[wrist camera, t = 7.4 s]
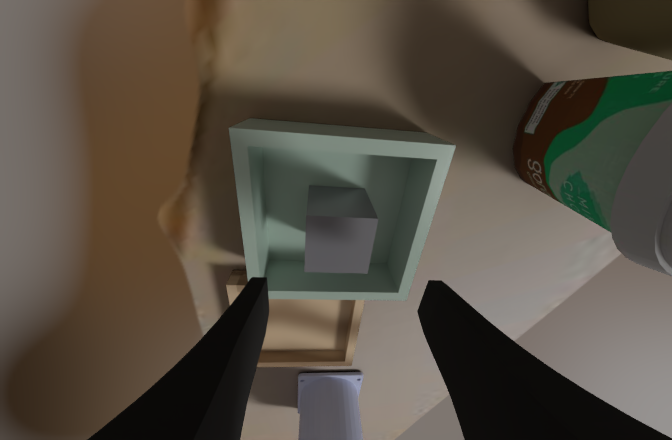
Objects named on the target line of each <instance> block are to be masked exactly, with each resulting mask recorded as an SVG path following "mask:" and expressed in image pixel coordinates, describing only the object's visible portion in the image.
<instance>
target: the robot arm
mask: <svg viewBox="0 0 672 440" xmlns="http://www.w3.org/2000/svg"><path fill="white" fill-rule="evenodd" d="M417 312H418V315H419V319H420V322H421V326H422V329H423V332H424V335H425V338H426V340H427V342H428V345H429V347H430V349H431V352H432V354H433V356H434V359H435V361H436V363H437V366H438V368H439V370H440V372H441V375H442V377H443V379H444V382H445V384H446V386H447V389H448V391H449V394H450V396H451V399H452V402H453V405H454V408H455V411H456V414H457V417H458V420H459V423H460V426H461V429H462V432H463V436H464V438H465V440H672V438H670V437H668V436H666V435H664V434H662V433H660V432H658V431H657V430H655V429H653V428H651V427H649V426H647V425H645V424H643V423H642V422H640V421H638V420H636V419H634V418H632V417H631V416H629V415H627V414H625V413H624V412H622V411H620V410H618V409H617V408H615V407H613V406H612V405H610V404H608V403H606V402H604V401H603V400H601V399H599V398H598V397H596V396H594V395H593V394H591V393H589V392H588V391H586V390H584V389H583V388H581V387H580V386H578V385H577V384H575V383H574V382H572V381H570V380H569V379H567V378H565V377H564V376H562V375H561V374H559V373H557V372H556V371H555V370H553V369H552V368H550V367H549V366H547V365H546V364H544V363H543V362H542V361H540V360H539V359H537V358H536V357H535V356H533V355H531V354H530V353H529V352H528V351H526V350H525V349H523V348H522V347H521V346H519V345H518V344H517V343H515V342H514V341H513V340H511V339H510V338H509V337H508V336H506V335H505V334H504V333H503V332H501V331H500V330H499V329H498V328H496V327H495V326H494V325H493V324H491V323H490V322H489V321H488V320H487V319H485V318H484V317H483V316H482V315H481V314H480V313H478V312H477V311H476V310H475V309H474V308H473V307H471V306H470V305H469V304H468V303H467V302H466V301H465V300H463V299H462V298H461V297H460V296H459V295H458V294H457V293H456V292H454V291H453V290H452V289H451V288H450V287H449V286H447V285H446V284H445V283H444V282H443V281H435V280H429V281H428V284H427V286H426V289H425V292H424V295H423V297H422V300H421V303H420V306H419V309H418V311H417ZM268 317H269V297H268V284H267V277H252V278H251V279H250V280H249V281H248V283H247V284H246V285H245V287H244V288H243V289H242V291H241V292H240V294H239V295H238V296H237V297H236V299H235V300H234V301H233V303H232V304H231V305H230V306H229V308H228V309H227V310H226V311H225V312H224V314H223V315H222V316H221V317H220V318H219V320H218V321H217V322H216V323H215V324H214V325H213V326H212V328H211V329H210V330H209V331H208V332H207V333H206V334H205V335H204V336H203V338H202V339H201V340H200V341H199V342H198V343H197V344H196V345H195V346H194V347H193V348H192V349H191V350H190V351H189V352H188V353H187V354H186V355H185V356H184V357H183V358H182V359H181V360H180V361H179V362H178V363H177V364H176V365H175V366H174V367H173V368H172V369H171V370H170V371H168V372H167V373H166V374H165V375H164V376H163V377H162V378H161V379H160V380H159V381H158V382H157V383H155V384H154V385H153V386H152V387H151V388H150V389H149V390H148V391H146V392H145V393H144V394H143V395H142V396H141V397H139V398H138V399H137V400H136V401H135V402H133V403H132V404H131V405H130V406H128V407H127V408H126V409H125V410H124V411H122V412H121V413H120V414H119V415H117V416H116V417H115V418H114V419H113V420H111V421H110V422H109V423H108V424H107V425H105V426H104V427H103V428H102V429H100V430H99V431H98V432H97V433H95V434H94V435H93V436H91V437H90V438H89V439H88V440H240V437H241V431H242V426H243V421H244V416H245V411H246V405H247V401H248V397H249V393H250V389H251V385H252V382H253V378H254V375H255V371H256V367H257V364H258V360H259V357H260V353H261V349H262V346H263V342H264V338H265V335H266V329H267V323H268ZM362 380H363V373H362V372H335V373H301V374H299V375H298V413H299V414H300V421H299V439H298V440H363V435H362V427H361V419H360V411H359V403H358V396H359V392H360V388H361V384H362Z"/></svg>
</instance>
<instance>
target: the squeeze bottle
mask: <svg viewBox="0 0 672 440" xmlns="http://www.w3.org/2000/svg"><path fill="white" fill-rule="evenodd" d="M588 10H589V24H590V26H591V27H592V29H593V31H594V32H595V34H596V36H597V37H598V39H601V40H604V41H606V42H609V43H612V44H615V45H618V46H622V47H626V48H629V49H633V50H637V51H640V52H644V53H647V54H651V55H655V56H658V57H662V58H666V59H669V60H672V0H588Z"/></svg>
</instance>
